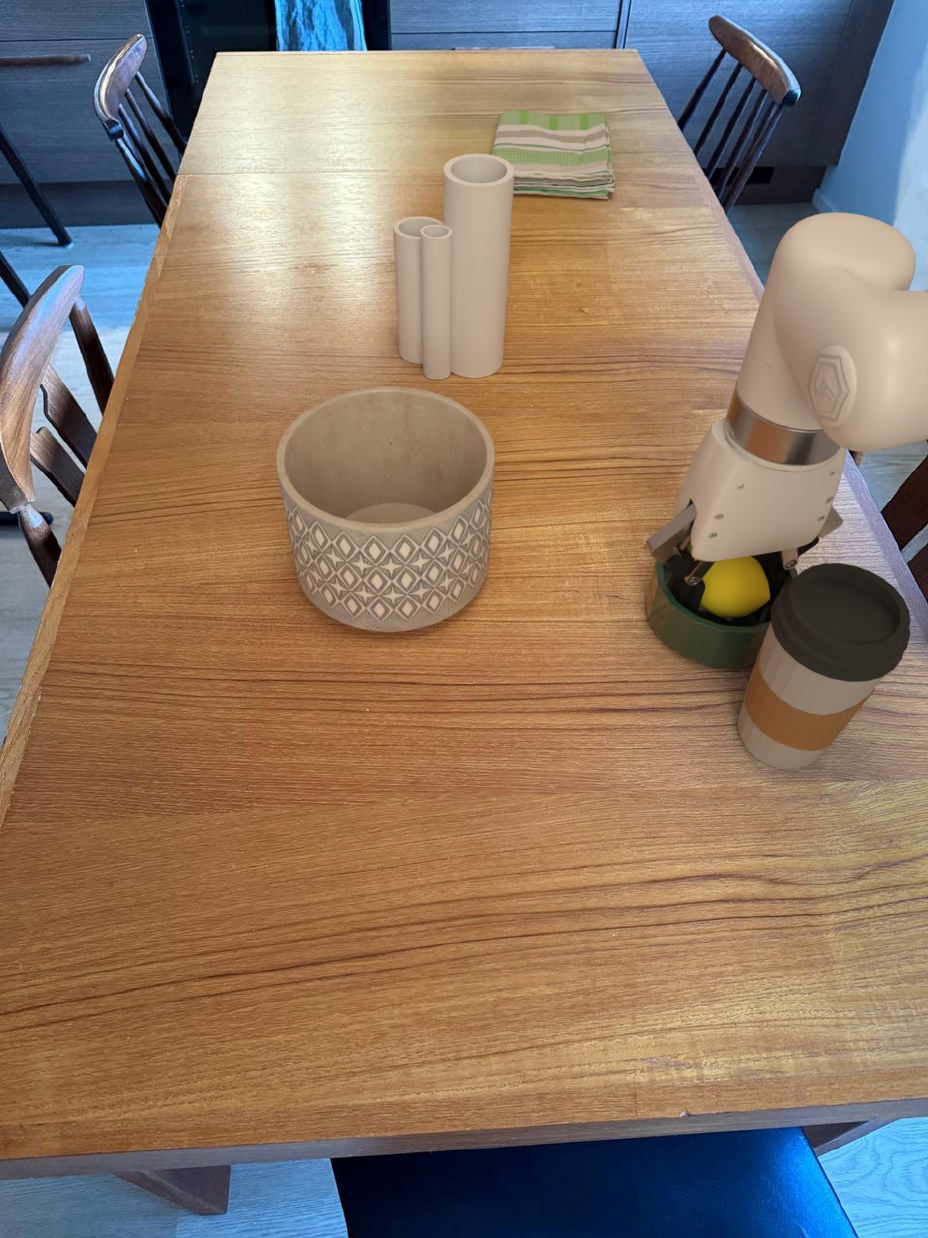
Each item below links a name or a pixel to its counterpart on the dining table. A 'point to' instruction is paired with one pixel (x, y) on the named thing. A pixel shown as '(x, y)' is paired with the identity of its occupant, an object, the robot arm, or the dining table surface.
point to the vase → (457, 272)
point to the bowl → (706, 625)
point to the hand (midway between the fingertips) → (721, 597)
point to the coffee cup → (820, 661)
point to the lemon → (735, 587)
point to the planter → (388, 506)
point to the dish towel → (557, 153)
